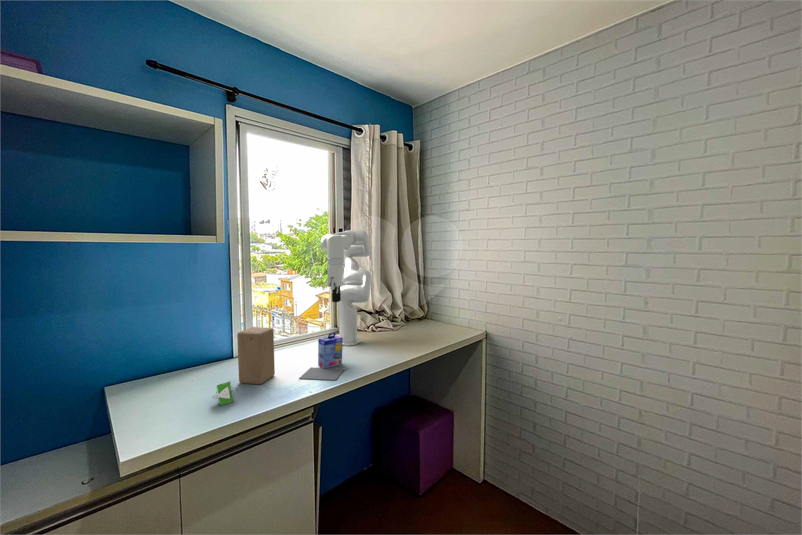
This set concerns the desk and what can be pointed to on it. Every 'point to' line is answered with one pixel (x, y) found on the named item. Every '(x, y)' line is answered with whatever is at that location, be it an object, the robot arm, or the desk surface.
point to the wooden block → (256, 355)
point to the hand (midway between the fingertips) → (336, 301)
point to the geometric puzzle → (225, 393)
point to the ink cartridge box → (330, 351)
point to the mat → (322, 374)
